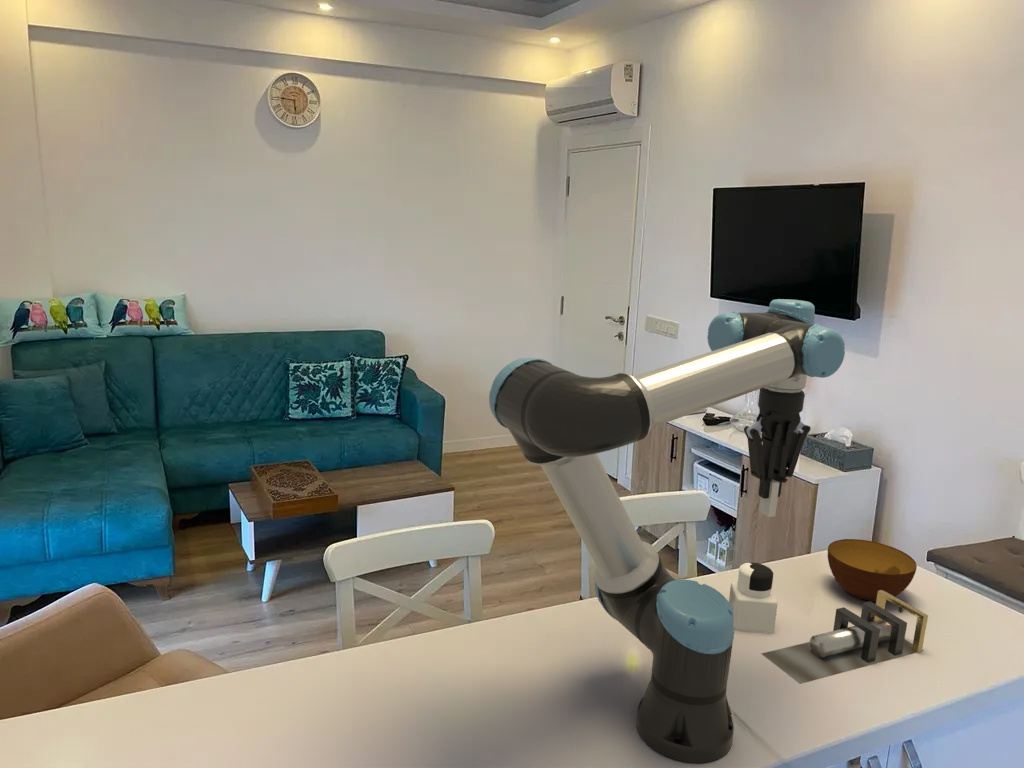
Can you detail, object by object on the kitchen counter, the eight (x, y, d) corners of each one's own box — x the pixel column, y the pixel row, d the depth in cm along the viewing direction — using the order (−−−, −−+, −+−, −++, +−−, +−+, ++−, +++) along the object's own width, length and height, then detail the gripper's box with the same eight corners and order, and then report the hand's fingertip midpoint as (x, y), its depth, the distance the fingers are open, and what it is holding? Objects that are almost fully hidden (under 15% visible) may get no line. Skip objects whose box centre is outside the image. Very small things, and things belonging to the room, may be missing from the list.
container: (764, 617, 155) (771, 560, 152) (773, 638, 148) (781, 577, 145) (726, 614, 156) (733, 557, 153) (733, 634, 148) (740, 574, 146)
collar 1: (867, 662, 139) (872, 631, 137) (831, 639, 146) (836, 608, 145) (875, 660, 139) (880, 629, 138) (839, 637, 147) (844, 607, 146)
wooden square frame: (917, 653, 142) (923, 616, 141) (872, 625, 152) (877, 590, 150) (921, 652, 143) (928, 615, 141) (876, 624, 152) (882, 589, 150)
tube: (827, 661, 138) (825, 638, 138) (810, 654, 141) (808, 632, 142) (904, 640, 145) (902, 619, 145) (886, 635, 149) (884, 614, 149)
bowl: (912, 593, 168) (919, 552, 166) (905, 627, 154) (913, 582, 151) (829, 571, 177) (835, 532, 175) (815, 601, 163) (821, 559, 160)
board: (799, 689, 131) (799, 684, 131) (760, 658, 140) (760, 653, 140) (923, 655, 144) (924, 650, 143) (880, 629, 152) (880, 624, 152)
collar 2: (894, 655, 141) (899, 624, 140) (858, 632, 149) (862, 603, 147) (902, 653, 142) (907, 622, 141) (865, 630, 150) (870, 601, 148)
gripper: (765, 394, 125) (750, 525, 130) (827, 391, 130) (810, 518, 135) (738, 384, 132) (724, 509, 137) (797, 382, 137) (782, 503, 142)
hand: (767, 513), depth 136 cm, fingers closed
